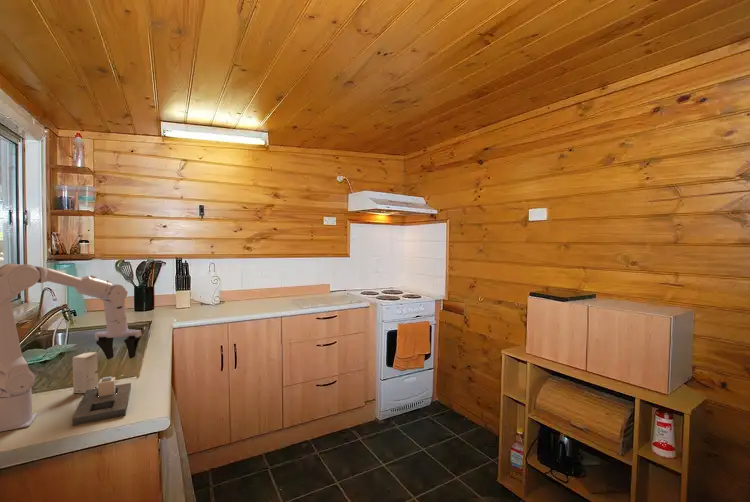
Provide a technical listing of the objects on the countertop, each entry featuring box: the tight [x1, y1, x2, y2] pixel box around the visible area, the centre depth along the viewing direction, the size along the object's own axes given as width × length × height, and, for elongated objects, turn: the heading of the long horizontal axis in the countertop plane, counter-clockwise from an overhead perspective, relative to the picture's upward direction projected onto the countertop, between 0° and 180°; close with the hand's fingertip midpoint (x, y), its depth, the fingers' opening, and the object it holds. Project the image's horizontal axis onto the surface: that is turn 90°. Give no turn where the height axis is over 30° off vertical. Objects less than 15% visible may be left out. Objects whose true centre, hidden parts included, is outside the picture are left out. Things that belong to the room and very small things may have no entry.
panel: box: [72, 382, 132, 427], centre depth 113 cm, size 12×22×2 cm, turn 30°
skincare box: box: [71, 351, 99, 394], centre depth 124 cm, size 6×4×12 cm
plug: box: [97, 375, 116, 397], centre depth 118 cm, size 4×4×7 cm
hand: (121, 357), depth 126 cm, fingers open, 7 cm apart
